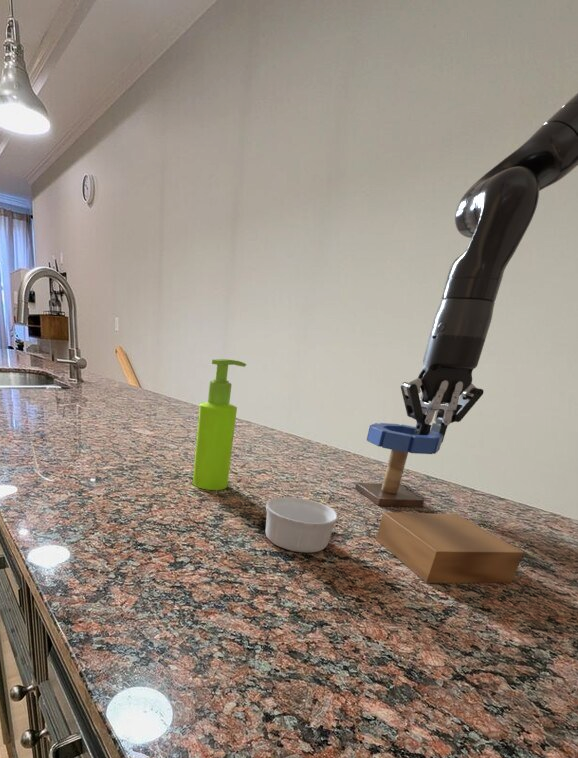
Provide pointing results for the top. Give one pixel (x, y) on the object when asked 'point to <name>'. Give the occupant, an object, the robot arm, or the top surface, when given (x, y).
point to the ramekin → (299, 524)
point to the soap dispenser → (215, 432)
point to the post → (391, 485)
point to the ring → (403, 438)
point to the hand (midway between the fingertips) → (425, 445)
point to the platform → (448, 548)
